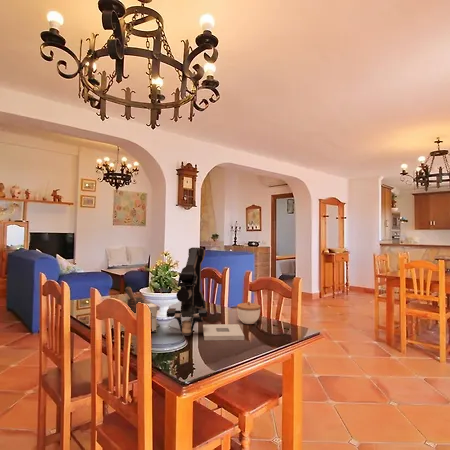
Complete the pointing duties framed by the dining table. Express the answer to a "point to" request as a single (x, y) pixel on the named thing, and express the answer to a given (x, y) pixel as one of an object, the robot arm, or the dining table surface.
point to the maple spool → (186, 327)
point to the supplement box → (153, 315)
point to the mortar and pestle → (133, 299)
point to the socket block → (222, 332)
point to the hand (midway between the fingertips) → (186, 331)
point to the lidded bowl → (248, 312)
